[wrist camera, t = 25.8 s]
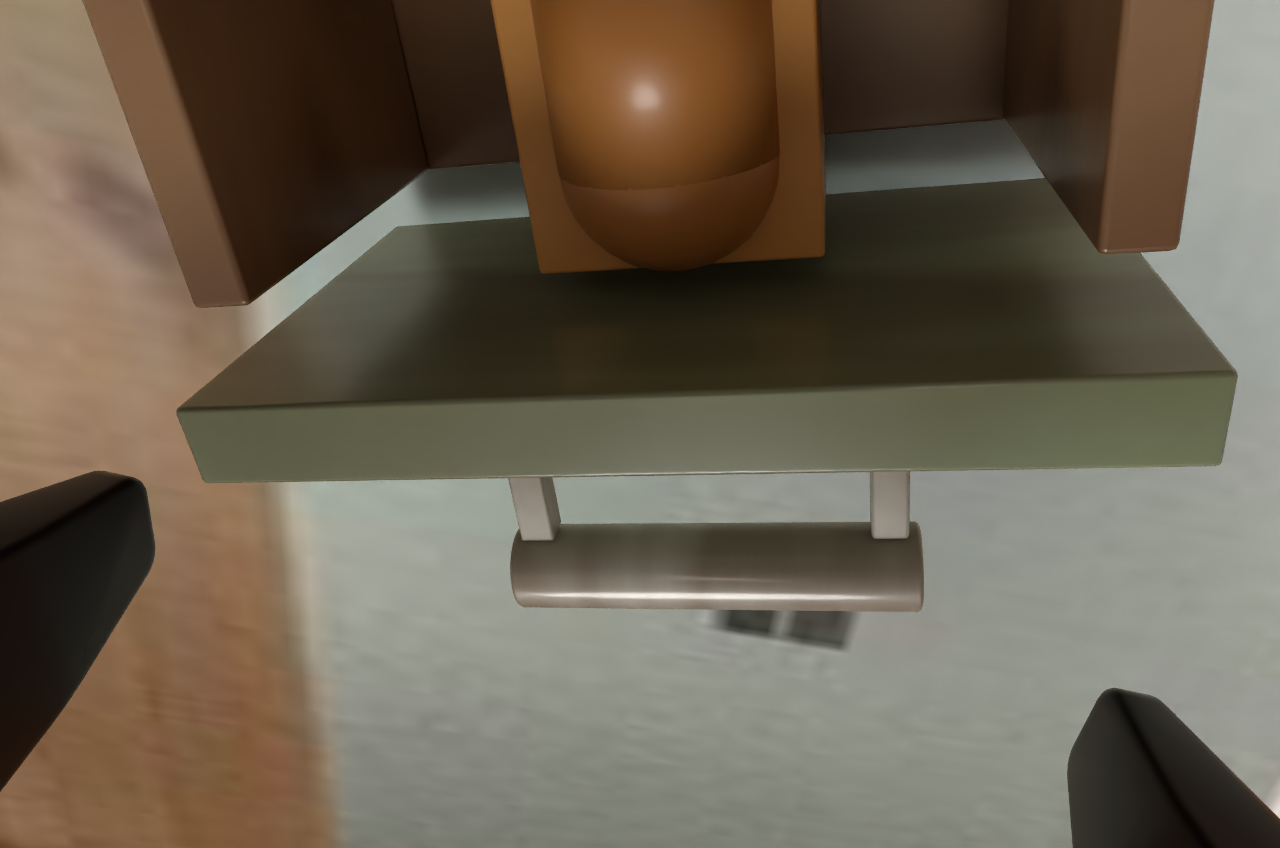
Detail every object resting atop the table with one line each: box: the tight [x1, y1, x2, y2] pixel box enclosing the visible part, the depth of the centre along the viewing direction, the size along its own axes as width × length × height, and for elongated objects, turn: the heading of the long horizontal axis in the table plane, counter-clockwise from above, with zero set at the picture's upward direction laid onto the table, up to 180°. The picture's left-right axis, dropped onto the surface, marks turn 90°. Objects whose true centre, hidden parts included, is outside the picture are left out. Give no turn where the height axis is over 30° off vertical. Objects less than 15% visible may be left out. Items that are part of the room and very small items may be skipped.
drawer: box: [83, 0, 1238, 612], centre depth 13 cm, size 18×13×8 cm
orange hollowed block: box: [491, 0, 826, 274], centre depth 14 cm, size 7×4×5 cm, turn 7°
